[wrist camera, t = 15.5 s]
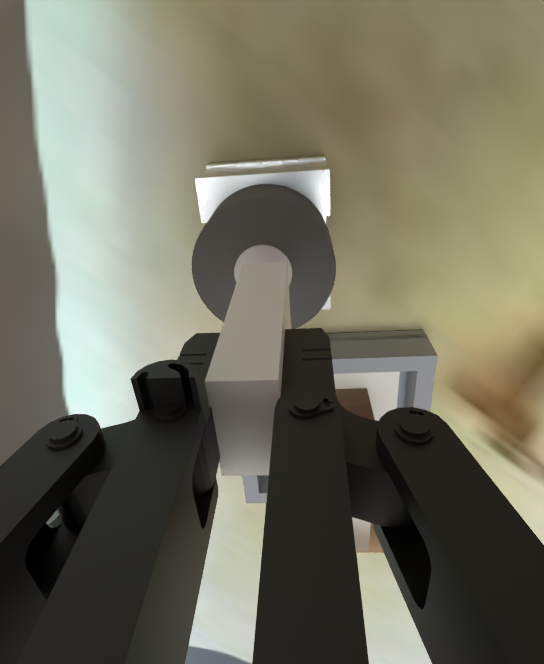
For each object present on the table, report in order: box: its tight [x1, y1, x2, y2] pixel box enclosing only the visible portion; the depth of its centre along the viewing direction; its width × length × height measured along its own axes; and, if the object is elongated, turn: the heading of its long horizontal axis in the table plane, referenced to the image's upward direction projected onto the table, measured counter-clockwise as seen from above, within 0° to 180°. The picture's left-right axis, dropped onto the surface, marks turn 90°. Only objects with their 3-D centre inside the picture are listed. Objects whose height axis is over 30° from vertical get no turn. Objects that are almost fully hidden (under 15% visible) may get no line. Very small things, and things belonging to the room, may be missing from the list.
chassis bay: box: [242, 330, 437, 503], centre depth 29 cm, size 12×12×3 cm
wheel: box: [192, 184, 336, 329], centre depth 20 cm, size 6×6×6 cm
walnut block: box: [335, 388, 384, 553], centre depth 25 cm, size 5×5×9 cm
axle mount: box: [195, 156, 331, 310], centre depth 22 cm, size 7×6×4 cm
